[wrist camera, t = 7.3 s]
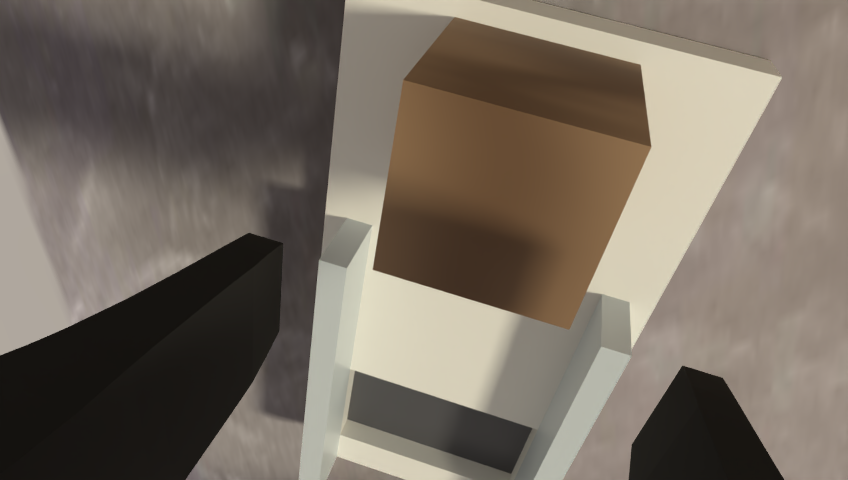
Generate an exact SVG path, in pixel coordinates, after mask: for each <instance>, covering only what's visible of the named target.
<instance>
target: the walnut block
mask: <svg viewBox="0 0 848 480" xmlns="http://www.w3.org/2000/svg"><path fill="white" fill-rule="evenodd" d="M650 149H651V140H650V132H649V124H648V117H647V109H646V101H645V94H644V86H643V78H642V70H641V65H640V64H636V63H632V62H628V61H624V60H620V59H616V58H613V57H609V56H605V55H601V54H597V53H593V52H589V51H585V50H581V49H578V48H574V47H570V46H566V45H562V44H558V43H554V42H550V41H546V40H543V39H539V38H535V37H531V36H527V35H523V34H519V33H515V32H511V31H508V30H504V29H500V28H496V27H492V26H488V25H484V24H480V23H477V22H473V21H469V20H465V19H461V18H457V17H454V18H453V19H452V21H451V22H450V23H449V24H448V26H447V27H446V28H445V29H444V30H443V32H442V33H441V34H440V35H439V37H438V38H437V39H436V40H435V41H434V43H433V44H432V45H431V46H430V48H429V49H428V50H427V51H426V52H425V54H424V55H423V56H422V57H421V59H420V60H419V61H418V62H417V63H416V65H415V66H414V67H413V68H412V70H411V71H410V72H409V73H408V75H407V76H406V77H405V78H404V79H403V84H402V90H401V96H400V102H399V109H398V115H397V121H396V127H395V134H394V140H393V146H392V152H391V158H390V165H389V171H388V177H387V183H386V189H385V196H384V202H383V208H382V214H381V221H380V227H379V233H378V239H377V245H376V252H375V258H374V264H373V270H375V271H378V272H381V273H384V274H388V275H391V276H394V277H398V278H401V279H404V280H407V281H411V282H414V283H417V284H420V285H424V286H427V287H430V288H434V289H437V290H440V291H443V292H447V293H450V294H453V295H457V296H460V297H463V298H466V299H470V300H473V301H476V302H480V303H483V304H486V305H489V306H493V307H496V308H499V309H502V310H506V311H509V312H512V313H516V314H519V315H522V316H525V317H529V318H532V319H535V320H539V321H542V322H545V323H548V324H552V325H555V326H558V327H561V328H565V329H568V330H569V329H570V327H571V325H572V323H573V321H574V318H575V316H576V314H577V312H578V309H579V307H580V305H581V303H582V300H583V298H584V296H585V294H586V292H587V289H588V287H589V285H590V283H591V280H592V278H593V276H594V274H595V272H596V269H597V267H598V265H599V263H600V260H601V258H602V256H603V254H604V251H605V249H606V247H607V245H608V243H609V240H610V238H611V236H612V234H613V231H614V229H615V227H616V225H617V223H618V220H619V218H620V216H621V214H622V211H623V209H624V207H625V205H626V203H627V200H628V198H629V196H630V194H631V191H632V189H633V187H634V185H635V182H636V180H637V178H638V176H639V174H640V171H641V169H642V167H643V165H644V162H645V160H646V158H647V156H648V154H649V151H650Z"/></svg>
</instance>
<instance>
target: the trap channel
mask: <svg viewBox="0 0 848 480" xmlns="http://www.w3.org/2000/svg"><path fill="white" fill-rule="evenodd" d="M454 17H457V18H461V19H465V20H469V21H473V22H477V23H480V24H484V25H488V26H492V27H496V28H500V29H504V30H508V31H511V32H515V33H519V34H523V35H527V36H531V37H535V38H539V39H543V40H546V41H550V42H554V43H558V44H562V45H566V46H570V47H574V48H578V49H581V50H585V51H589V52H593V53H597V54H601V55H605V56H609V57H613V58H616V59H620V60H624V61H628V62H632V63H636V64H640V65H641V70H642V78H643V86H644V94H645V101H646V109H647V117H648V124H649V132H650V140H651V149H650V151H649V154H648V156H647V158H646V160H645V162H644V165H643V167H642V169H641V171H640V174H639V176H638V178H637V180H636V182H635V185H634V187H633V189H632V191H631V194H630V196H629V198H628V200H627V203H626V205H625V207H624V209H623V211H622V214H621V216H620V218H619V220H618V223H617V225H616V227H615V229H614V231H613V234H612V236H611V238H610V240H609V243H608V245H607V247H606V249H605V251H604V254H603V256H602V258H601V260H600V263H599V265H598V267H597V269H596V272H595V274H594V276H593V278H592V280H591V283H590V285H589V287H588V289H587V292H586V294H585V296H584V298H583V300H582V303H581V305H580V307H579V309H578V312H577V314H576V316H575V318H574V321H573V323H572V325H571V327H570V329H569V330H568V329H565V328H561V327H558V326H555V325H552V324H548V323H545V322H542V321H539V320H535V319H532V318H529V317H525V316H522V315H519V314H516V313H512V312H509V311H506V310H502V309H499V308H496V307H493V306H489V305H486V304H483V303H480V302H476V301H473V300H470V299H466V298H463V297H460V296H457V295H453V294H450V293H447V292H443V291H440V290H437V289H434V288H430V287H427V286H424V285H420V284H417V283H414V282H411V281H407V280H404V279H401V278H398V277H394V276H391V275H388V274H384V273H381V272H378V271H375V270H373V264H374V258H375V252H376V245H377V239H378V233H379V227H380V221H381V214H382V208H383V202H384V196H385V189H386V183H387V177H388V171H389V165H390V158H391V152H392V146H393V140H394V134H395V127H396V121H397V115H398V109H399V102H400V96H401V90H402V84H403V79H404V78H405V77H406V76H407V75H408V73H409V72H410V71H411V70H412V68H413V67H414V66H415V65H416V63H417V62H418V61H419V60H420V59H421V57H422V56H423V55H424V54H425V52H426V51H427V50H428V49H429V48H430V46H431V45H432V44H433V43H434V41H435V40H436V39H437V38H438V37H439V35H440V34H441V33H442V32H443V30H444V29H445V28H446V27H447V26H448V24H449V23H450V22H451V21H452V19H453V18H454ZM781 79H782V76H781V75H780V73H779V72H778V71H777V69H776V68H775V66H774V65H773V63H772V62H771V60H767V59H763V58H759V57H755V56H751V55H747V54H743V53H739V52H736V51H732V50H728V49H724V48H720V47H716V46H712V45H708V44H704V43H700V42H696V41H692V40H688V39H684V38H680V37H676V36H672V35H668V34H664V33H660V32H656V31H652V30H648V29H644V28H641V27H637V26H633V25H629V24H625V23H621V22H617V21H613V20H609V19H605V18H601V17H597V16H593V15H589V14H585V13H581V12H577V11H573V10H569V9H565V8H561V7H557V6H553V5H550V4H546V3H542V2H538V1H534V0H345V10H344V21H343V31H342V42H341V52H340V63H339V73H338V84H337V95H336V105H335V116H334V126H333V137H332V147H331V158H330V168H329V179H328V189H327V200H326V210H325V221H324V232H323V242H322V253H321V258H320V259H319V266H318V277H317V288H316V298H315V309H314V320H313V331H312V342H311V352H310V363H309V374H308V385H307V396H306V406H305V417H304V428H303V439H302V450H301V460H300V471H299V480H327V478H328V476H329V473H330V471H331V469H332V466H333V464H334V462H335V459H336V457H337V456H338V457H340V458H343V459H346V460H349V461H352V462H355V463H358V464H361V465H364V466H367V467H370V468H373V469H376V470H379V471H382V472H385V473H387V474H390V475H393V476H396V477H399V478H402V479H405V480H563V478H564V476H565V474H566V473H567V471H568V469H569V467H570V465H571V464H572V462H573V460H574V458H575V457H576V455H577V453H578V451H579V449H580V448H581V446H582V444H583V442H584V440H585V439H586V437H587V435H588V433H589V432H590V430H591V428H592V426H593V424H594V423H595V421H596V419H597V417H598V415H599V414H600V412H601V410H602V408H603V406H604V405H605V403H606V401H607V399H608V398H609V396H610V394H611V392H612V390H613V389H614V387H615V385H616V383H617V381H618V380H619V378H620V376H621V374H622V372H623V371H624V369H625V367H626V365H627V364H628V362H629V360H630V358H631V356H632V348H633V346H634V344H635V342H636V341H637V339H638V337H639V335H640V333H641V332H642V330H643V328H644V326H645V324H646V322H647V321H648V319H649V317H650V315H651V313H652V312H653V310H654V308H655V306H656V304H657V303H658V301H659V299H660V297H661V295H662V294H663V292H664V290H665V288H666V286H667V285H668V283H669V281H670V279H671V277H672V276H673V274H674V272H675V270H676V268H677V267H678V265H679V263H680V261H681V259H682V257H683V256H684V254H685V252H686V250H687V248H688V247H689V245H690V243H691V241H692V239H693V238H694V236H695V234H696V232H697V230H698V229H699V227H700V225H701V223H702V221H703V220H704V218H705V216H706V214H707V212H708V211H709V209H710V207H711V205H712V203H713V201H714V200H715V198H716V196H717V194H718V192H719V191H720V189H721V187H722V185H723V183H724V182H725V180H726V178H727V176H728V174H729V173H730V171H731V169H732V167H733V165H734V164H735V162H736V160H737V158H738V156H739V155H740V153H741V151H742V149H743V147H744V146H745V144H746V142H747V140H748V138H749V136H750V135H751V133H752V131H753V129H754V127H755V126H756V124H757V122H758V120H759V118H760V117H761V115H762V113H763V111H764V109H765V108H766V106H767V104H768V102H769V100H770V99H771V97H772V95H773V93H774V91H775V90H776V88H777V86H778V84H779V82H780V80H781Z"/></svg>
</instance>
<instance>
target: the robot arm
mask: <svg viewBox="0 0 848 480" xmlns="http://www.w3.org/2000/svg"><path fill="white" fill-rule="evenodd" d="M282 257H283V243H280V242H277V241H274V240H270V239H267V238H264V237H261V236H257V235H254V234H251V233H248V234H246V235H244V236H242V237H240V238H238V239H237V240H235V241H233V242H231V243H229V244H227V245H226V246H224V247H222V248H220V249H218V250H216V251H215V252H213V253H211V254H209V255H207V256H206V257H204V258H202V259H200V260H198V261H197V262H195V263H193V264H191V265H189V266H188V267H186V268H184V269H182V270H180V271H179V272H177V273H175V274H173V275H171V276H169V277H167V278H166V279H164V280H162V281H160V282H158V283H156V284H154V285H152V286H150V287H149V288H147V289H145V290H143V291H141V292H139V293H137V294H135V295H133V296H132V297H130V298H128V299H126V300H124V301H122V302H120V303H118V304H115V305H113V306H111V307H109V308H107V309H105V310H103V311H101V312H99V313H97V314H95V315H93V316H90V317H88V318H86V319H84V320H82V321H80V322H78V323H76V324H74V325H72V326H70V327H68V328H65V329H63V330H61V331H59V332H56V333H54V334H52V335H50V336H47V337H45V338H43V339H40V340H38V341H35V342H33V343H31V344H29V345H26V346H24V347H21V348H18V349H16V350H13V351H11V352H8V353H5V354H3V355H0V480H185V479H186V478H187V477H188V475H189V474H190V472H191V471H192V469H193V468H194V466H195V465H196V464H197V462H198V461H199V459H200V458H201V456H202V455H203V453H204V452H205V451H206V449H207V448H208V446H209V445H210V443H211V442H212V441H213V439H214V438H215V436H216V435H217V433H218V432H219V430H220V429H221V428H222V426H223V425H224V423H225V422H226V420H227V419H228V417H229V416H230V415H231V413H232V412H233V410H234V409H235V407H236V406H237V404H238V403H239V401H240V400H241V398H242V397H243V396H244V394H245V393H246V391H247V390H248V388H249V387H250V385H251V384H252V382H253V380H254V378H255V377H256V375H257V373H258V371H259V369H260V367H261V365H262V363H263V362H264V360H265V358H266V356H267V354H268V352H269V350H270V348H271V346H272V344H273V342H274V340H275V338H276V336H277V334H278V332H279V322H280V301H281V279H282ZM629 480H784V479H783V477H782V475H781V474H780V472H779V471H778V469H777V467H776V466H775V464H774V462H773V461H772V459H771V457H770V456H769V454H768V452H767V451H766V449H765V447H764V446H763V444H762V442H761V441H760V439H759V437H758V436H757V434H756V432H755V431H754V429H753V427H752V426H751V424H750V422H749V421H748V419H747V417H746V415H745V414H744V412H743V410H742V409H741V407H740V405H739V404H738V402H737V400H736V399H735V397H734V395H733V394H732V392H731V391H730V389H729V387H728V386H727V384H726V383H725V381H724V379H723V378H721V377H718V376H714V375H711V374H708V373H705V372H701V371H698V370H695V369H692V368H688V367H685V366H682V367H681V369H680V370H679V372H678V374H677V375H676V377H675V378H674V380H673V381H672V383H671V385H670V386H669V388H668V389H667V391H666V392H665V394H664V395H663V397H662V399H661V400H660V402H659V403H658V405H657V406H656V408H655V409H654V411H653V413H652V414H651V416H650V417H649V419H648V420H647V422H646V423H645V425H644V427H643V428H642V430H641V431H640V433H639V434H638V436H637V437H636V439H635V441H634V442H633V444H632V449H631V461H630V472H629Z"/></svg>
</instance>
